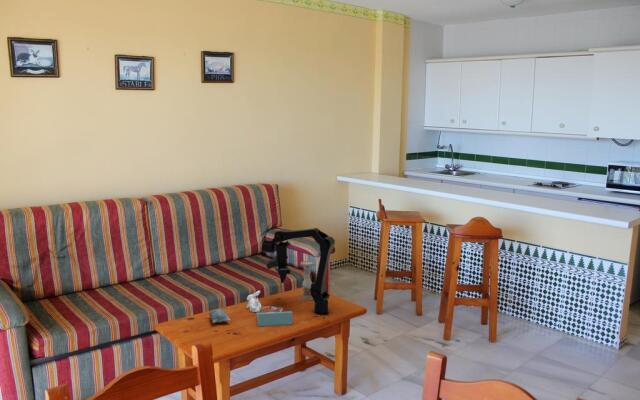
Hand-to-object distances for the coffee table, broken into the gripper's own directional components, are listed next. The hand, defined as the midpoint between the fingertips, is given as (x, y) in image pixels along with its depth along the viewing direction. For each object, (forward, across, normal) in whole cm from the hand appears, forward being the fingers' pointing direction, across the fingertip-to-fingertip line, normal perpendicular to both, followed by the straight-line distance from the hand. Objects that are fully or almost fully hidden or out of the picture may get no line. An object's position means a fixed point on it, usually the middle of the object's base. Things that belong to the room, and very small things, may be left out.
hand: (282, 283), depth 288 cm
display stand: (+13, +19, -7) cm, 24 cm away
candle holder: (+13, -10, +15) cm, 23 cm away
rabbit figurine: (+13, +2, -14) cm, 19 cm away
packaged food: (+14, +18, -31) cm, 39 cm away
